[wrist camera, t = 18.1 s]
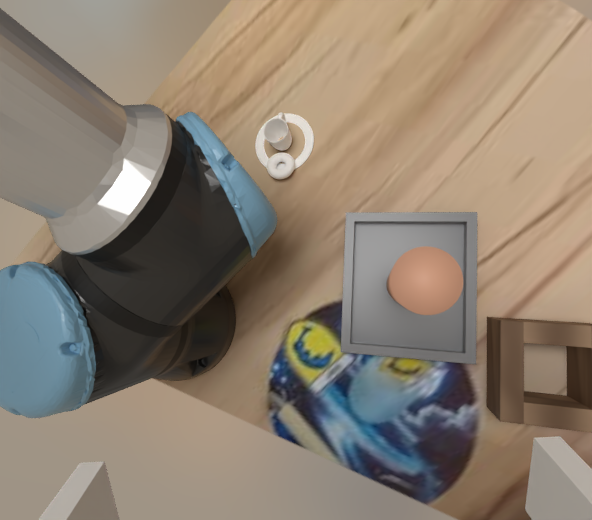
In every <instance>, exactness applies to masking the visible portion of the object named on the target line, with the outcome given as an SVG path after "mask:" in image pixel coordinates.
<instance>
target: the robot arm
mask: <svg viewBox="0 0 592 520" xmlns="http://www.w3.org/2000/svg"><path fill="white" fill-rule="evenodd" d="M0 198H2V199H5V200H7V201H9V202H11V203H14V204H16V205H18V206H20V207H23V208H25V209H27V210H30V211H32V212H34V213H36V214H39V215H41V216H43V217H45V218H46V220H47V223H48V225H49V228H50V231H51V233H52V236H53V238H54V241H55V243H56V244H57V246H58V247H59V248H60V249H61V250H62V251H61V252H60V253H59V254H58V255H57V256H56V257H55V258H54V260H52V261H51V262H50V263H48V264H46V265H45V264H41V263H36V262H26V263H23V264H20V265H12V266H8V267H6V268H4V269H2V270H0V406H1V407H2V408H4V409H5V410H7V411H9V412H11V413H13V414H16V415H23V416H26V417H28V418H41V417H45V416H50V415H53V414H57V413H61V412H65V411H72V410H76V409H78V408H80V407H81V406H82V405H84V404H87V403H89V402H92V401H94V400H97V399H99V398H102V397H104V396H107V395H110V394H112V393H115V392H117V391H120V390H123V389H125V388H128V387H130V386H133V385H135V384H138V383H141V382H143V381H145V380H148V379H150V378H156V379H163V380H170V381H179V380H186V379H190V378H193V377H196V376H198V375H200V374H202V373H204V372H206V371H208V370H210V369H211V368H213V367H214V366H215V365H216V364H217V363H218V362H219V361H220V360H221V359H222V358H223V356H224V355H225V354H226V352H227V350H228V348H229V346H230V344H231V342H232V339H233V335H234V330H235V309H234V304H233V301H232V298H231V295H230V293H229V291H228V289H227V288H226V286H225V284H226V283H227V282H228V281H230V280H231V279H232V278H233V277H234V276H235V275H236V274H237V273H238V272H239V271H240V270H241V269H242V268H243V267H244V266H245V265H246V264H247V263H248V262H249V261H250V260H251V259H253V258H254V257H255V256H256V254H257V251H258V250H259V249H260V248H261V246H262V245H263V244H264V243H265V242H266V241H267V239H268V238H269V237H270V236H271V235H272V234H273V232H274V231H275V229H276V225H277V214H276V212H275V209H274V208H273V206H272V204H271V203H270V202H269V200H268V199H267V197H266V196H265V195H264V193H263V192H262V191H261V189H260V188H259V187H258V186H257V184H256V183H255V182H254V180H253V179H252V178H251V177H250V175H249V174H248V173H247V172H246V171H245V169H244V168H243V167H242V166H241V165H240V164H239V162H238V161H236V160H235V159H234V156H233V155H232V154H231V153H230V152H229V151H228V149H227V148H226V147H225V145H224V144H223V143H222V142H221V140H220V139H219V138H218V137H217V136H216V135H215V133H214V132H213V131H212V130H211V129H210V128H209V127H208V126H207V124H206V123H205V122H204V121H203V120H202V119H201V118H200V117H199V116H198V115H197V114H195V113H193V112H187V113H186V114H184V115H181V116H179V117H177V118H176V122H175V121H173V120H172V119H171V118H170V117H169V116H168V115H167V114H166V113H164V112H163V111H162V110H161V109H160V108H158V107H156V106H154V105H150V104H143V105H126V106H122V105H120V104H118V103H117V102H115V101H114V100H113V99H112V98H111V97H110V96H108V95H107V94H106V93H105V92H103V91H102V90H101V89H100V88H98V87H97V86H96V85H95V84H93V83H92V82H91V81H90V80H88V79H87V78H86V77H84V75H82V74H81V73H80V72H79V71H77V70H76V69H75V68H74V67H72V66H71V65H70V64H69V63H67V62H66V61H65V60H64V59H63V58H61V57H60V56H59V55H58V54H56V53H55V52H54V51H53V50H51V49H50V48H49V47H48V46H47V45H45V44H44V43H43V42H41V41H40V40H39V39H38V38H37V37H35V36H34V35H33V34H32V33H30V32H29V31H28V30H27V29H25V28H24V27H23V26H22V25H20V24H19V23H18V22H17V21H16V20H14V19H13V18H12V17H11V16H9V15H8V14H7V13H6V12H4V11H3V10H2V9H1V8H0ZM525 510H526V511H527V513H528V514H529V516H530V517H531V519H532V520H592V469H591V468H590V467H589V466H588V465H587V464H586V463H585V462H584V461H583V460H582V459H581V458H580V457H579V456H578V455H577V454H576V453H575V451H574V450H573V449H572V448H571V447H570V446H569V445H568V444H567V443H566V442H565V441H564V440H563V439H562V438H561V437H560V436H557V437H539V438H534V442H533V450H532V458H531V466H530V474H529V482H528V490H527V498H526V506H525ZM39 520H119V516H118V512H117V508H116V504H115V500H114V496H113V493H112V489H111V485H110V481H109V477H108V473H107V469H106V466H105V462H85V463H80V464H79V465H78V466H77V468H76V469H75V471H74V472H73V473H72V475H71V476H70V477H69V479H68V480H67V481H66V483H65V484H64V485H63V487H62V488H61V490H60V491H59V492H58V494H57V495H56V496H55V498H54V499H53V501H52V502H51V503H50V505H49V506H48V507H47V509H46V510H45V511H44V513H43V514H42V515H41V517H40V518H39Z"/></svg>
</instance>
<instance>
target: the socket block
mask: <svg viewBox="0 0 592 520" xmlns="http://www.w3.org/2000/svg"><path fill="white" fill-rule="evenodd" d="M524 343H534V344H547V345H560V346H567V396H563V395H554V394H544V393H535V392H525V391H524ZM487 407H488V408H489V410H490V411H491V412H492V413H493V414H494V415H495V416H496V417H497V418H498V419H499V420H500V421H502V422H510V423H518V424H526V425H534V426H542V427H550V428H558V429H566V430H575V431H583V432H591V433H592V324H590V323H576V322H559V321H543V320H527V319H511V318H494V317H487Z"/></svg>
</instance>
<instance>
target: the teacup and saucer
mask: <svg viewBox="0 0 592 520" xmlns="http://www.w3.org/2000/svg"><path fill="white" fill-rule="evenodd" d="M286 122H290V123H294V124H296V125H298V126H299V127H300V128H301V129H302V131H303V133H304V136H305V146H304V149H303V151H302V153H301V154H300V156H299V157H298V158H297V159H295V160H294V159H293V157H292V156H291V155H290V154H288V153H284V152H280V153H276V154H274V155H273V156H272V157H271V158H270V159H269V158H268V156H267V155H266V153H265V150H264V140H265V139H266V140H267V141H268V142H269V143H270V144H271V145H272V146H273V147H274V148H275V149H277V150H280V151H284V150H287V149H288V148H289V147H290V145H291V143H292V137H291V133H290V130H289V128H288V125H287V123H286ZM283 136H285V137H284V138H283V139H282V140H280V141H278V140H279V138H281V137H283ZM313 144H314V135H313V131H312V129H311V127H310V125H309V124H308V122H307V121H306V120H305V119H303V118H302V117H300V116H298V115H295V114H284V113H282V112H280V113H279V114H278V115H277V116H275V117H273V118H271V119H269V120H268V121H267V122H266V123H265V124H264V125H263V126H262V127H261V129H260V131H259V133H258V135H257V138H256V144H255V148H256V154H257V157H258V159H259V160H260V162H261V163H262V164H263V165H264V166H265V167H266V168H267V171H268V173H269V174H270V176H272V177H273V178H275V179H285V178H287V177H289V176H290V175H291V174H292V172H293V171H294V169H296V168H298V167H300V166H301V165H302V164H303V163H304V162H305V161H306V160H307V159H308V157H309V156H310V154H311V152H312V149H313ZM279 162H284V163H285V164H279Z"/></svg>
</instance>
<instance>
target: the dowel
mask: <svg viewBox="0 0 592 520" xmlns="http://www.w3.org/2000/svg"><path fill="white" fill-rule="evenodd" d="M386 287H387V291H388V293H389V295H390V296H391V298H392V299H394V300H395V301H396V302H398V303H399V304H400V305H402V306H403V307H405V308H406V309H408V310H409V311H411V312H414V313H417V314H421V315H435V314H439V313H442V312H444V311H446V310H448V309H449V308H450V307H452V306H453V305H454V304H455V303H456V301H457V300H458V298H459V297H460V295H461V292H462V288H463V275H462V271H461V268H460V266H459V264H458V263H457V262H456V260H455V259H454V258H453V257H452V256H451V255H450V254H448V253H447V252H445V251H443V250H441V249H438V248H435V247H428V246H424V247H417V248H414V249H411V250H409V251H407V252H406V253H404V254H403V255H402V256H401V257H400V258H399V259H398V260H397V261H396V263H395V265H394V266H393V268H392V270H391V272H390V274H389V276H388V278H387V283H386Z"/></svg>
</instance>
